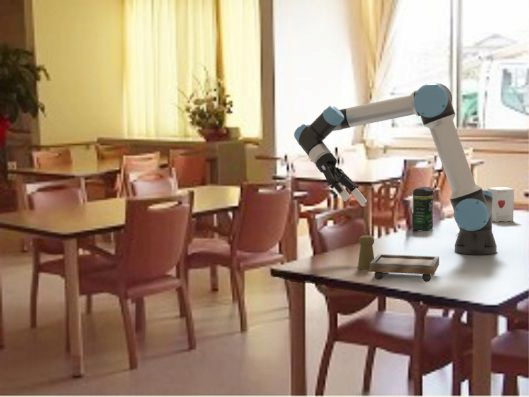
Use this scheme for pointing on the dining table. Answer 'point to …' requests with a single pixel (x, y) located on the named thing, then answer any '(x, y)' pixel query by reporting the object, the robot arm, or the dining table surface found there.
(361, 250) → the cork
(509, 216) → the supplement box
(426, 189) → the coffee jar
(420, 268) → the cart
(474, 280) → the dining table surface
